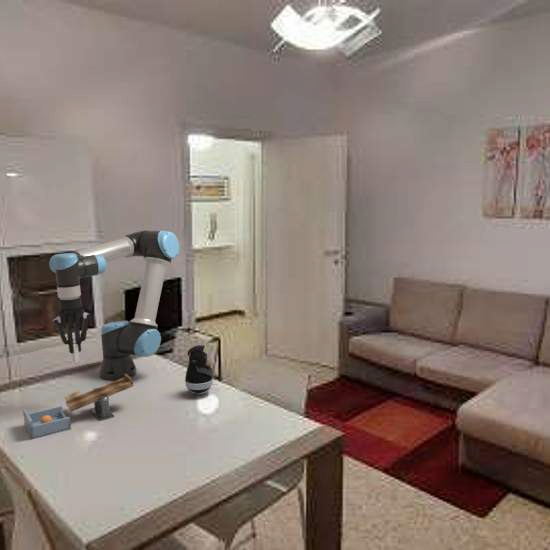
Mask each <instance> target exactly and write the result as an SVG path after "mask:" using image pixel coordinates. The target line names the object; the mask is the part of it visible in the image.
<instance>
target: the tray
mask: <svg viewBox="0 0 550 550" xmlns="http://www.w3.org/2000/svg"><path fill="white" fill-rule="evenodd" d="M22 411H23V422H24V427H25V429H26V431H27V433H28V436H29V437H30V439H31V440H34V439H38V438H42V437H46V436H49V435H50V436H51V435H53V433H54V434H56V432H58V433H61V432H64V430H65V431H68V430H71V429H72V427H71V417H70V416H67V415H66V414H65V413H64V411H63V406H62V405H60V406H55V407H50V408H47V409H46V408H45V409H42V410H38V411H33V412H29V411H28V410H27V408H23V409H22ZM45 415H49V416H50V417H51V418H52V421H50V422H46V423H42V424H41V423H40V420H41V418H42V417H43V416H45ZM60 431H61V432H60Z"/></svg>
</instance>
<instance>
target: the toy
mask: <svg viewBox="0 0 550 550" xmlns="http://www.w3.org/2000/svg"><path fill="white" fill-rule="evenodd" d="M205 347H206V345H204V344H201V345H200V344H198V345H195V346H192V347H190V348H189V349H188V351H187V356H188V365H187V369H186V372H185V378H184V382H185V383H184V384H185V387H186V388H187V390H188V391H189V392H190V393H192V394H195V395H203V394H206V393H208V392H209V391H210V390H211V388H212V386H213V384H214V383H213V381H214V376H213V375H214V370H213V368H212V364H213V363H212V361H210V360H209V359H208V353H207V352H205V351H204V349H205Z"/></svg>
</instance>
